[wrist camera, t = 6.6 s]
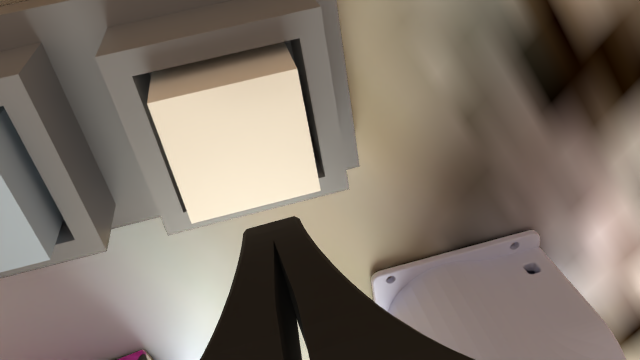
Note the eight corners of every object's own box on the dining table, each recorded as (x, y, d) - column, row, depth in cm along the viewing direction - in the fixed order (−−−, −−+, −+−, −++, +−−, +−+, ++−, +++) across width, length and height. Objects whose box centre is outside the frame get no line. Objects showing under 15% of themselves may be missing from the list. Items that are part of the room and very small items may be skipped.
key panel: (319, -62, 20) (351, -39, 16) (350, 150, 24) (380, 205, 21) (-204, 49, 18) (-306, 104, 14) (-58, 251, 23) (-105, 331, 19)
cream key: (282, 37, 18) (296, 68, 16) (304, 148, 21) (320, 190, 18) (152, 67, 18) (146, 103, 15) (190, 176, 20) (191, 223, 18)
